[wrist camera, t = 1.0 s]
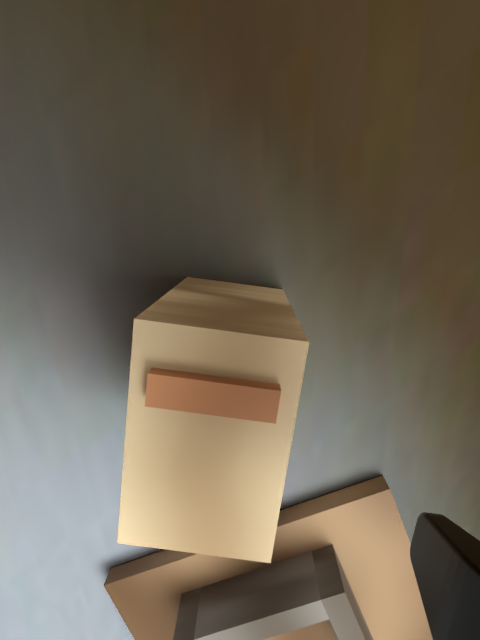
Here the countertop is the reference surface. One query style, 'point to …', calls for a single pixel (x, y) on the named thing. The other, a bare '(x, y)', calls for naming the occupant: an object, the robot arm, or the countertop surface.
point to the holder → (287, 580)
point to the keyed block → (211, 419)
